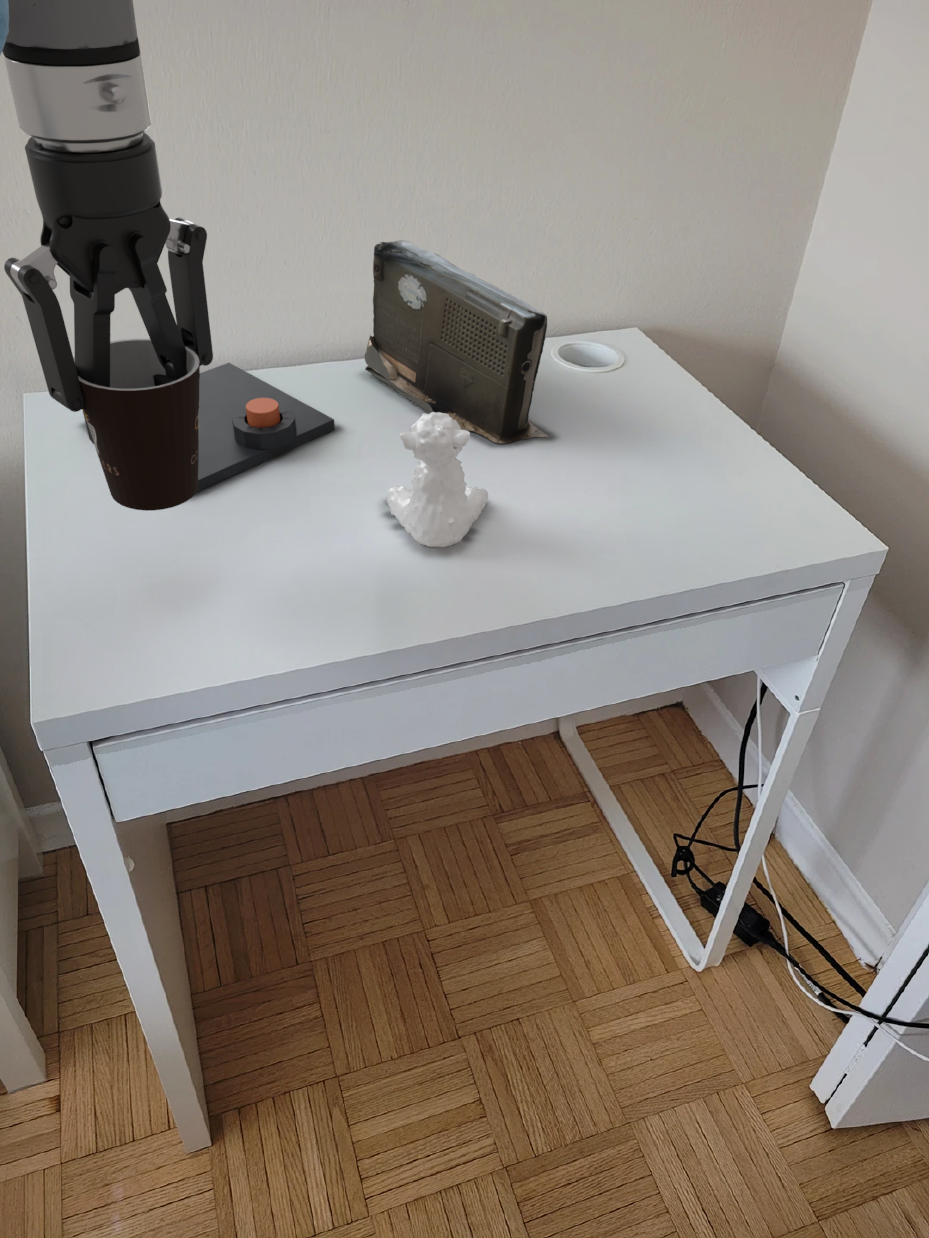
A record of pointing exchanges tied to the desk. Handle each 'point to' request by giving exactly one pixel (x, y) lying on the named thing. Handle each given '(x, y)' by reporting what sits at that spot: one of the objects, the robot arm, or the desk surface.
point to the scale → (230, 436)
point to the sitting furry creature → (436, 484)
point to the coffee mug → (145, 428)
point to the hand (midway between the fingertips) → (152, 468)
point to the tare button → (263, 412)
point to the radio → (454, 342)
